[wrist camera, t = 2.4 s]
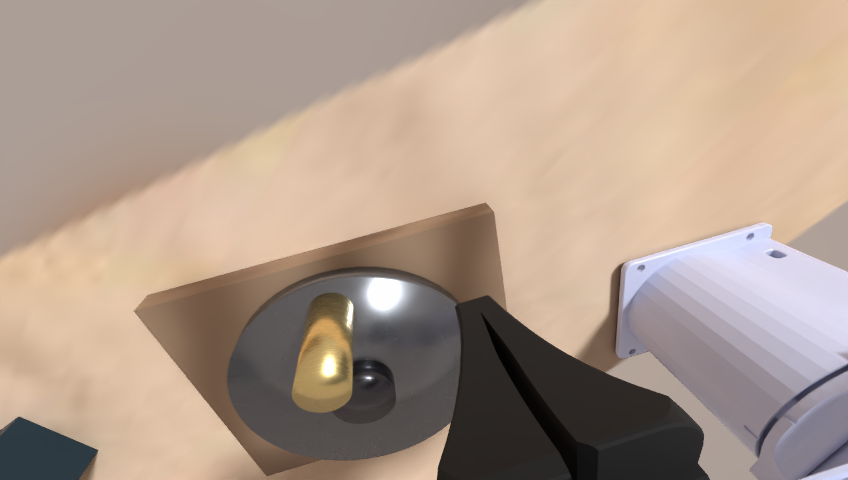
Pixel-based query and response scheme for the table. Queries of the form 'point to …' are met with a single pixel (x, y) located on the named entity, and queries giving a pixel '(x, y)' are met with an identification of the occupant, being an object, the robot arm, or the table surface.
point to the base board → (250, 288)
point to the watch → (40, 453)
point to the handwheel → (349, 364)
